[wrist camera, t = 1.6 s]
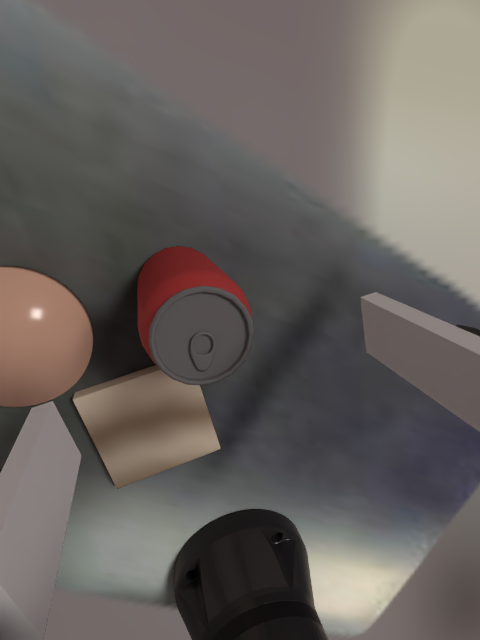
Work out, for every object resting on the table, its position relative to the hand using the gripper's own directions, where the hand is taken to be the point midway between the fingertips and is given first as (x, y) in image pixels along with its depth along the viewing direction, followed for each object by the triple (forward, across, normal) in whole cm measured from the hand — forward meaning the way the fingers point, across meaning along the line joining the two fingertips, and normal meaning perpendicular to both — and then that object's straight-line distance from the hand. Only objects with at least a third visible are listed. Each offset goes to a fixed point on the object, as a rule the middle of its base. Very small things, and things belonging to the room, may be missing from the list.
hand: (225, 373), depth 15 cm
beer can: (+16, 0, 0) cm, 17 cm away
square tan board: (+16, +6, +11) cm, 21 cm away
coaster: (+16, +13, 0) cm, 21 cm away
